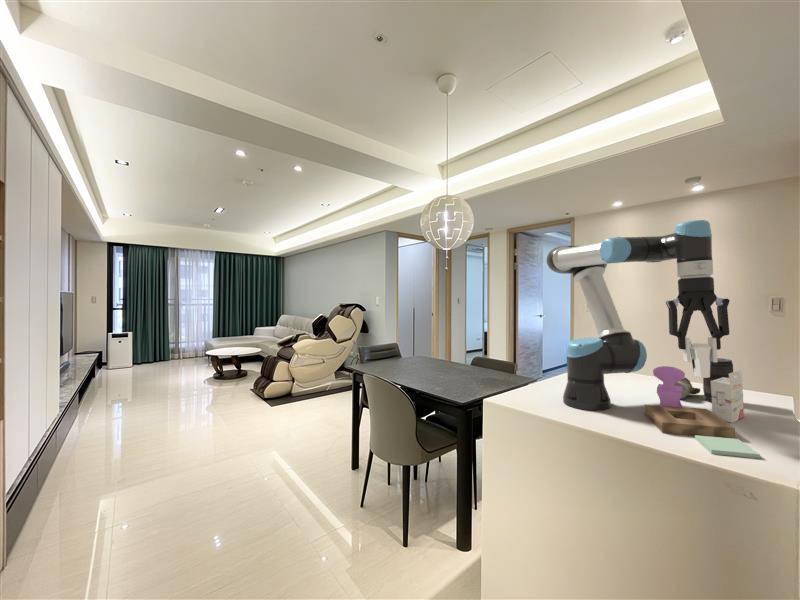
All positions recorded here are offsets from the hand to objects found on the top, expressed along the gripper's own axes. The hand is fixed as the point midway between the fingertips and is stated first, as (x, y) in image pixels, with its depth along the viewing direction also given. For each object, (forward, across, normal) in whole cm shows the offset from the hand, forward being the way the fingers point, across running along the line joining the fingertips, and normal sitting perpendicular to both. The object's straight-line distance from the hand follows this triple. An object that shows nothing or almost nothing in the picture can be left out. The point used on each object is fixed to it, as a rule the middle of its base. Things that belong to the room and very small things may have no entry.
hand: (699, 361), depth 94 cm
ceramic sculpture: (+20, +8, +40) cm, 46 cm away
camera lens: (+20, +18, +35) cm, 44 cm away
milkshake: (+4, 0, 0) cm, 4 cm away
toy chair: (+20, 0, +22) cm, 30 cm away
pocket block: (+20, -2, +7) cm, 21 cm away
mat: (+20, +1, -8) cm, 22 cm away
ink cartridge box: (+20, +12, +17) cm, 29 cm away
